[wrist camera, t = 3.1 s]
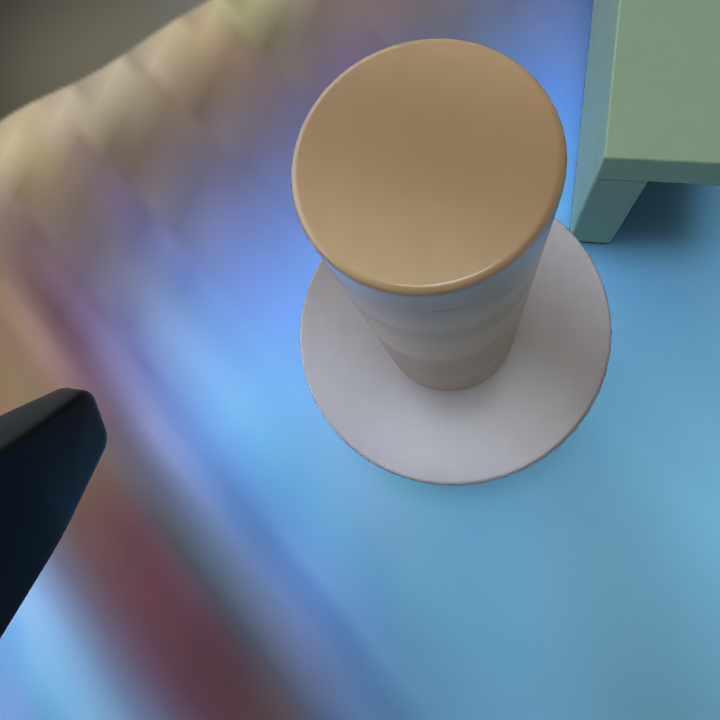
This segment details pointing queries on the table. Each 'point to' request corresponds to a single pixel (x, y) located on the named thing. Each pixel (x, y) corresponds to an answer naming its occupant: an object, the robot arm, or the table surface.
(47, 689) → the table surface
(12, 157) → the table surface
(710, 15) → the rack
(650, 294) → the table surface
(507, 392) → the cylinder on round base
